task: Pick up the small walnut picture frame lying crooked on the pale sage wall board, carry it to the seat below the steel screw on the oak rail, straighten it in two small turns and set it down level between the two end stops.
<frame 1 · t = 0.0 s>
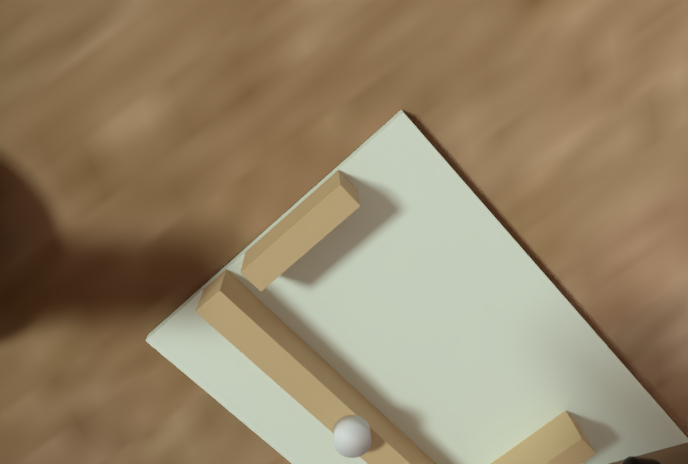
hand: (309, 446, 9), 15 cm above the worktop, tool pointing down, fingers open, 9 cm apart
wall board: (502, 456, 29), on the worktop
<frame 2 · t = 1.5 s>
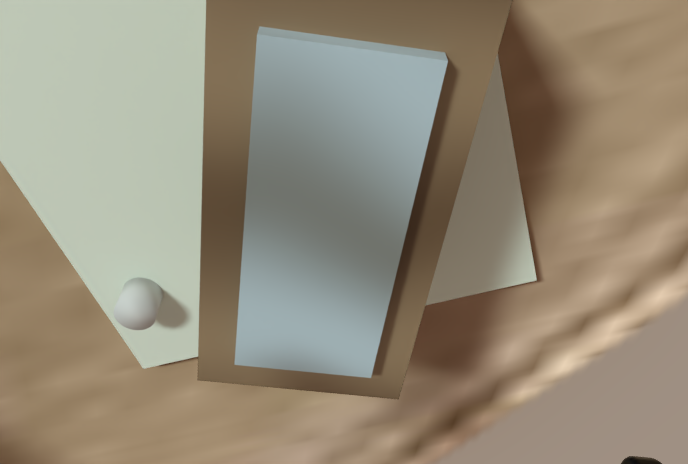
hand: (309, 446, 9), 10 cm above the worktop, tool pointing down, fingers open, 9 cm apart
walnut frame: (328, 132, 17), resting on wall board
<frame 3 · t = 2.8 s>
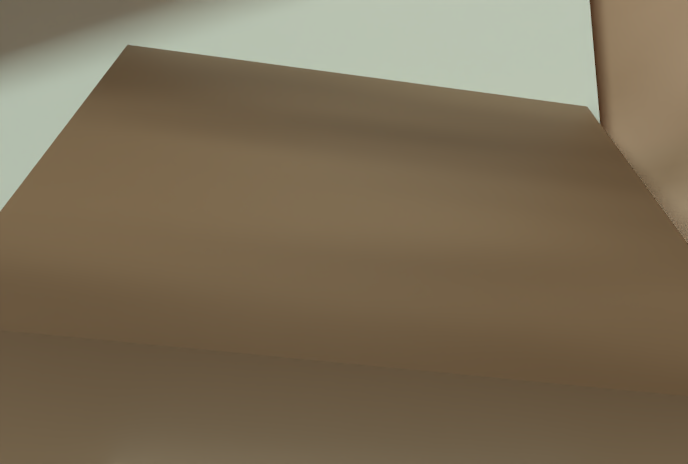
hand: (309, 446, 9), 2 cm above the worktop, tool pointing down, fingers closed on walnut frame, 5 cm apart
walnut frame: (311, 389, 10), point 1 cm above the worktop, touching gripper, wall board
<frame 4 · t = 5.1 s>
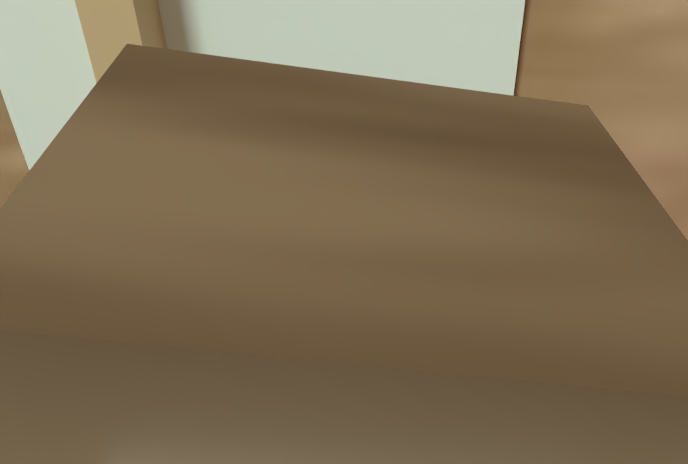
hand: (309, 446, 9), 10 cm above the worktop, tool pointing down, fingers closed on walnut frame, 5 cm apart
wall board: (285, 309, 22), on the worktop
walnut frame: (311, 389, 10), point 9 cm above the worktop, touching gripper
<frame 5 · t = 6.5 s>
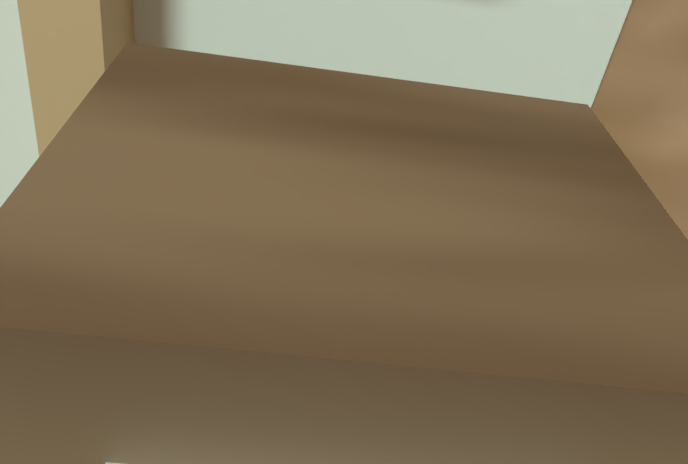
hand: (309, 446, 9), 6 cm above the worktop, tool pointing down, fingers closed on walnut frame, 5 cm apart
wall board: (231, 401, 18), on the worktop
walnut frame: (311, 388, 10), point 5 cm above the worktop, touching gripper
when the fingers open (3 cm above the worktop, at t = 7.6 s): walnut frame drops 2 cm, resting on wall board.
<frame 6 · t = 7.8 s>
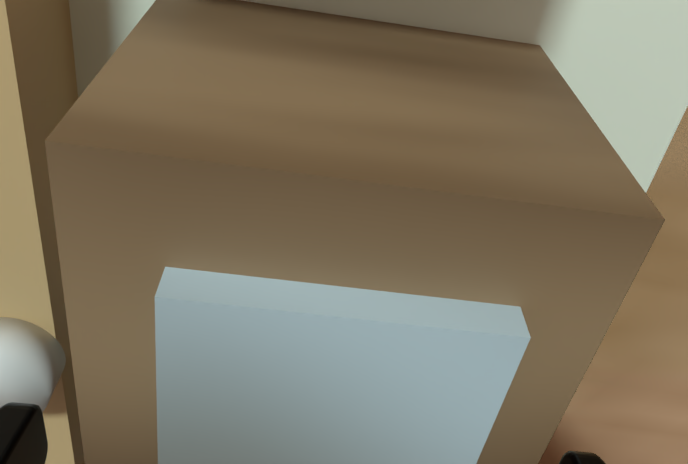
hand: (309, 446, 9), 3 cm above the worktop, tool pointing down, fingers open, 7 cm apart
walnut frame: (311, 301, 12), resting on wall board
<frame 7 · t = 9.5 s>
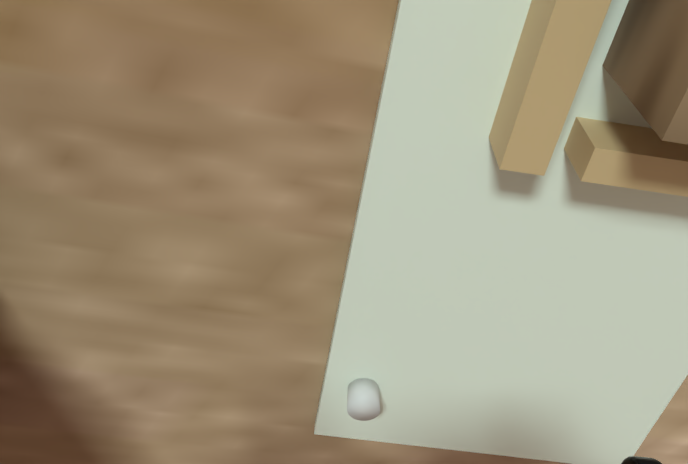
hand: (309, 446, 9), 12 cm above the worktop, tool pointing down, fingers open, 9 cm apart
wall board: (602, 130, 19), on the worktop
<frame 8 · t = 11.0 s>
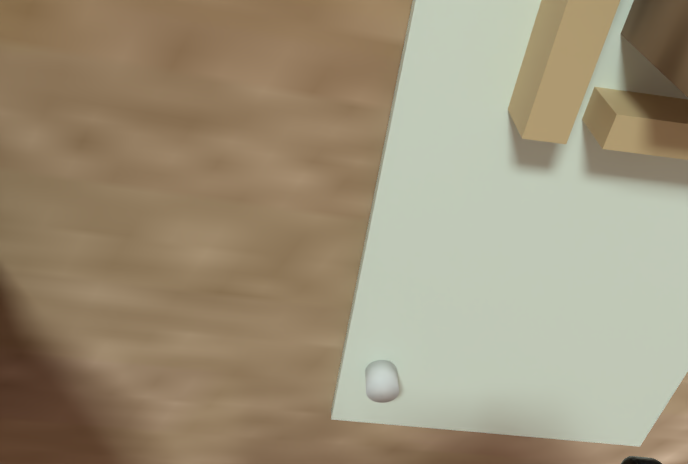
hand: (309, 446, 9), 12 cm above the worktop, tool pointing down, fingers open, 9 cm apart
wall board: (619, 100, 19), on the worktop
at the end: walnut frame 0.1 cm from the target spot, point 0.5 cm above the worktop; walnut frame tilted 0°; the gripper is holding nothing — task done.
